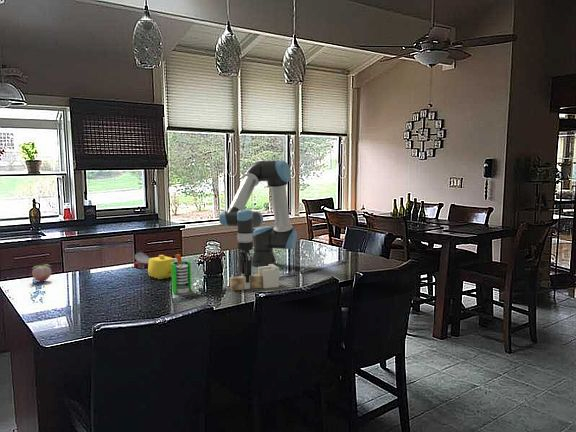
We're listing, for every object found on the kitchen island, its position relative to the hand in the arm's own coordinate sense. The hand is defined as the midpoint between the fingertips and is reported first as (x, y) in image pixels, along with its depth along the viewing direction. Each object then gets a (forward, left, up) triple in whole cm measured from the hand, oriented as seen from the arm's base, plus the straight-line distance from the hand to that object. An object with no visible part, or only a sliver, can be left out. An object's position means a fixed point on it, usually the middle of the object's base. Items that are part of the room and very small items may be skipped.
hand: (245, 287), depth 238 cm
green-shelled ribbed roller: (-7, -31, -1) cm, 32 cm away
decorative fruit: (-56, -96, 0) cm, 111 cm away
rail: (0, +2, 0) cm, 2 cm away
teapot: (-42, -35, -1) cm, 55 cm away
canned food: (-72, -43, -1) cm, 84 cm away
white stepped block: (0, +12, 0) cm, 12 cm away
